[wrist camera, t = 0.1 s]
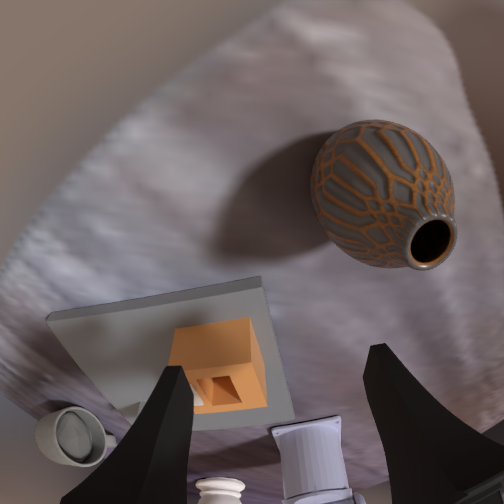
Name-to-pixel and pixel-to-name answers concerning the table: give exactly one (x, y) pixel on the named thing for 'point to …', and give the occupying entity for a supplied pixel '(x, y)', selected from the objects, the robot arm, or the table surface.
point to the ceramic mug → (73, 437)
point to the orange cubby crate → (221, 365)
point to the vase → (385, 196)
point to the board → (169, 346)
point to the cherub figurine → (220, 490)
